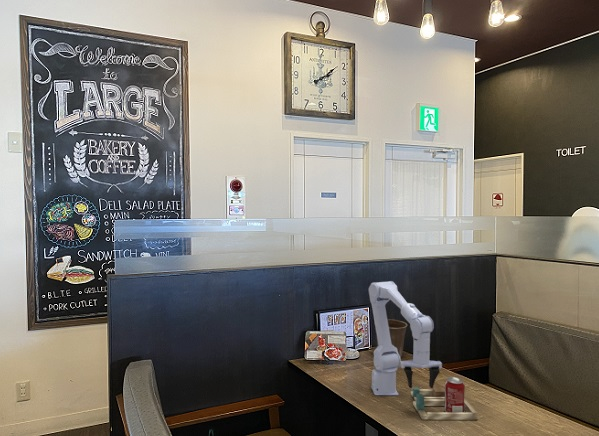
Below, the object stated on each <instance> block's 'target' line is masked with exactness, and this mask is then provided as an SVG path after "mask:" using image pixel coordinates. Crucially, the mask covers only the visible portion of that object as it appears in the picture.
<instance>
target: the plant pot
mask: <svg viewBox="0 0 599 436" xmlns="http://www.w3.org/2000/svg"><path fill="white" fill-rule="evenodd" d="M387 320H388V326H389V332H390V338H391V344H392V345H393V346H394V347H396V348H397V350H398V354H399V356H400V358H402V357H403V350H404V341H405V335H406V332H407V331H406V330H407V327H408V324H407V323H406V322H405V321H401V320H398V319H390V318H389V319H388V318H387ZM373 324H374V325H375V321H374V323H373ZM374 329H375V330H376V327H375V328H374ZM376 336H377V334H376ZM377 347H378V340H377V339H376V348H377ZM384 353H390V352H384ZM384 353H383V354H384Z"/></svg>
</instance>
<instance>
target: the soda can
mask: <svg viewBox="0 0 599 436" xmlns="http://www.w3.org/2000/svg"><path fill="white" fill-rule="evenodd" d="M465 389H466V387H465V383H464V380H463V379H462V378H459V377H456V376H455V377H454V376H449V377H446V382H445V383H444V390H445V406H444V407H443V408H444V411H445V412H465V410H464V398H465V391H466V390H465Z"/></svg>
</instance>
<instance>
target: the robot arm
mask: <svg viewBox="0 0 599 436" xmlns="http://www.w3.org/2000/svg"><path fill="white" fill-rule="evenodd" d="M398 290H399V289H398V286H397V284H396V283H395V282H394V281H393V280H389V281H380V282H371V283H370V285H369V287H368V295H369V301H370V303H371V308H372V309H371V310H372V314H373V320H374V322H375V324H374V326H375V327H376V329H375V333H376V334H377V335H376V341H377V340H378V347H377V346H376V348H375V349H374V351H373V361H372V362H373V365H374V367H375V368H374V369H372V371H371V390H372V392H373V394H374V396H399V393H398V391H397V387H396V385H397V371H398V370H399V367H400V368H401V369H403V371H404V373H405V376H406V380H407V384H408V388H409V389H413V368H418V369H419V368H421V369H428V371H429V383H428V386H429V387H430V389H432V388H433V387H434V385H435V382H436V379H437V377H438V375H439V374H440V371H441V370H440V369H442V367H443V363H442V362H441V361H440V360H437V361H436V360H430V355H431V353H430V351H431V349H430V348H431V347H430V346H431V345H430V344H431V333H432V332H433V331H434V328H435V327H434V326H435V324H434V320H433V319H432V318H431V316H429V315H425V314H423V313H422V312H420V310H419V309H418V308H417V307H416V305H415V304H414V303H410V302H407V301H406V299H405V298H404V296H402V294H401V293H400V291H398ZM390 301H391V302H393V304H394V305H396V307H398V308H399V309H400V314H401V315H402V317H403V318H404V319H405V320H406V321H407V322H408V323H409V324H410V325H409V328H410V331H411V334H412V335H411V336H412V338H413V350H412V352H413V356H412V359H410V360H402V359H401V358H402V357H400V356H399V354H398V350H397V348H396V347H394V346H393V345H392V344H391V338H390V332H389V326H388V320H387V319H388V315H387V310H386V309H387V308H386V304H387V303H388V302H390ZM384 352H390V353H384ZM383 353H384V354H383Z"/></svg>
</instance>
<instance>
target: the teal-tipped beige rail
mask: <svg viewBox="0 0 599 436" xmlns="http://www.w3.org/2000/svg"><path fill="white" fill-rule="evenodd" d="M424 397H425V395H423V394H417V396H416V401H414V400H412V405H413V407H414V408H415V410H416V412H417V413H418V415H419V417H420V418H421V420H436V421H437V420H441V421H442V420H447V421H449V420H454V421H455V420H459V421H460V420H462V421H463V420H466V421H470V420H471V421H473V420H475V421H476V420H478V412H477V410H475V408H474V407H473V406H472V405H471V404H470V403H469V401H467V399H466V398H465V397H464V412H446V411H445V412H443V411H441V412H438V411H435V412H434V411H433V412H432V411H431V412H429V411H428V412H426V411H425V407H445V399H424Z"/></svg>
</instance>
